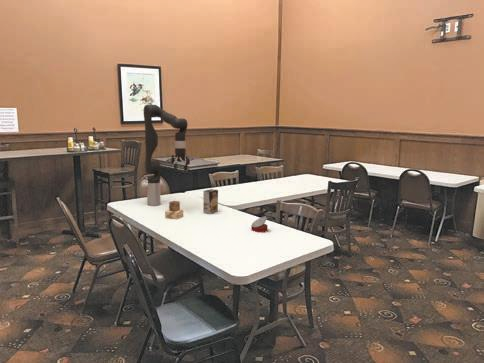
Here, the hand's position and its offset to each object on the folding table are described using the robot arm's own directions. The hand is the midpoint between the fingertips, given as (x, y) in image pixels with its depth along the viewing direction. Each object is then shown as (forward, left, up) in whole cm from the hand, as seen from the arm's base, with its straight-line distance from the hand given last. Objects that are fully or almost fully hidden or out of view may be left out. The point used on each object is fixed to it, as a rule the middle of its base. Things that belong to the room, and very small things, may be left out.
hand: (180, 170), depth 288 cm
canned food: (+69, -13, -30) cm, 76 cm away
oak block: (+6, -16, -30) cm, 35 cm away
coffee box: (+20, +8, -30) cm, 37 cm away
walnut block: (+6, -16, -25) cm, 30 cm away
